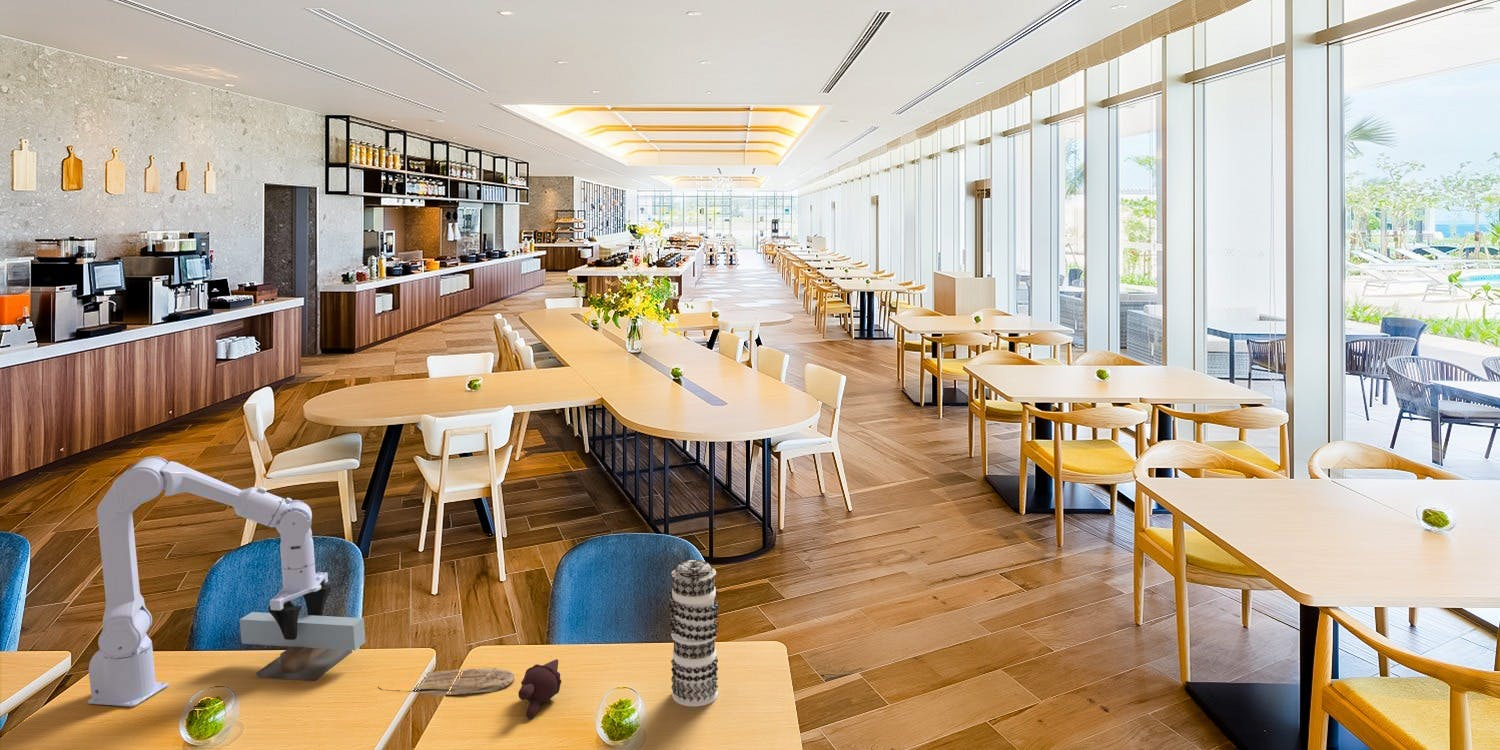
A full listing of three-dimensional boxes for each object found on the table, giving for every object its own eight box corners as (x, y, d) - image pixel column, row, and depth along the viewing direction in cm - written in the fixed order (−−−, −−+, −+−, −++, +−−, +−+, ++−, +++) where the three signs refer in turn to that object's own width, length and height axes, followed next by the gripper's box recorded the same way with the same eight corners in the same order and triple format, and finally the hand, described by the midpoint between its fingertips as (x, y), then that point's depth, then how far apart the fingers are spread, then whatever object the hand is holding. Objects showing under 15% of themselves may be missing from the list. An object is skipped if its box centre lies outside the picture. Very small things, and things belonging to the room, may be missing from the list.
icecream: (534, 646, 159) (498, 692, 145) (569, 640, 158) (537, 686, 143) (545, 679, 160) (511, 727, 146) (580, 673, 159) (549, 721, 144)
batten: (241, 643, 165) (239, 619, 164) (254, 635, 168) (252, 612, 167) (355, 650, 162) (353, 625, 161) (365, 642, 165) (363, 618, 164)
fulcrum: (256, 677, 160) (254, 655, 160) (297, 648, 172) (296, 628, 171) (314, 681, 159) (312, 658, 158) (352, 652, 171) (350, 631, 170)
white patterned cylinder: (669, 683, 158) (667, 556, 154) (718, 681, 159) (717, 554, 155) (669, 709, 149) (667, 574, 145) (721, 706, 150) (720, 572, 146)
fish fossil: (366, 701, 152) (366, 695, 152) (385, 678, 162) (384, 672, 162) (511, 690, 155) (511, 684, 155) (520, 668, 165) (520, 662, 165)
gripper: (292, 579, 155) (297, 648, 157) (339, 552, 169) (344, 615, 171) (257, 577, 156) (263, 646, 158) (307, 550, 170) (312, 614, 172)
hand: (303, 630), depth 164 cm, fingers open, 7 cm apart
